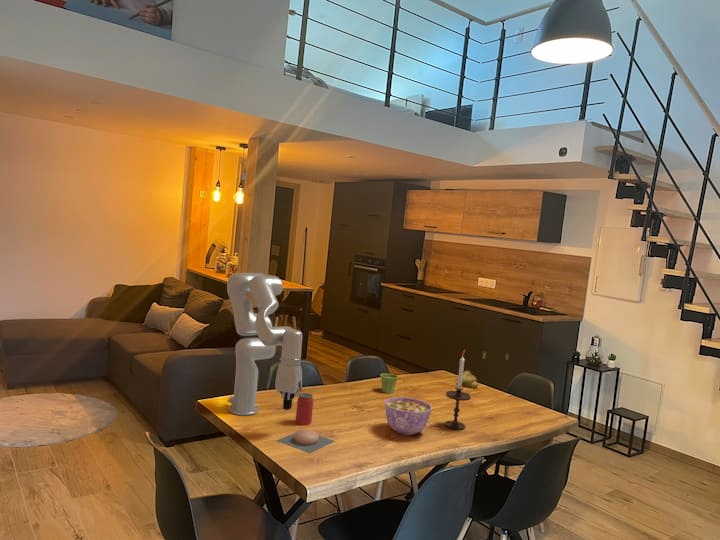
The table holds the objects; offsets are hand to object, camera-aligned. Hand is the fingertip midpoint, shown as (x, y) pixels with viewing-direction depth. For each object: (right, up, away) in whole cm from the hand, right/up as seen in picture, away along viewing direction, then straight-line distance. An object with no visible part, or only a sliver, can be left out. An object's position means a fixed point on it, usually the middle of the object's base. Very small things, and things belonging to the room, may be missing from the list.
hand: (287, 408), depth 207 cm
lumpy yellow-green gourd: (+91, -14, +104) cm, 139 cm away
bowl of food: (+47, -14, +18) cm, 53 cm away
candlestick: (+70, -16, +31) cm, 78 cm away
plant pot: (+43, -11, +75) cm, 87 cm away
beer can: (+5, -10, +15) cm, 19 cm away
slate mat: (+8, -11, -5) cm, 15 cm away
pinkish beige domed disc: (+8, -11, -5) cm, 14 cm away
